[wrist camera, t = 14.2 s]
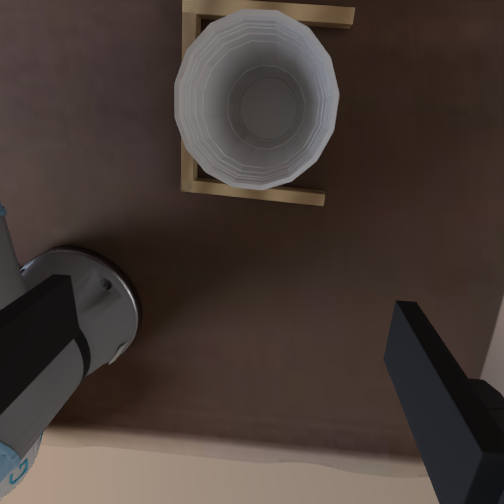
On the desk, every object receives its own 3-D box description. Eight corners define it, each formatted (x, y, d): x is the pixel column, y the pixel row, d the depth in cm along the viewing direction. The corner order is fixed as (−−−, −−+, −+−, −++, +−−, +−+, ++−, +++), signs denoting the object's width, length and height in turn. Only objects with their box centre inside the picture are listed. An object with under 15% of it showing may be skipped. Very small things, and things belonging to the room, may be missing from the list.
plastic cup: (224, 27, 32) (186, -19, 21) (341, 62, 32) (367, 34, 20) (199, 149, 36) (156, 165, 25) (302, 180, 36) (306, 210, 25)
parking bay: (185, 187, 37) (180, 191, 36) (188, 2, 31) (182, -5, 30) (322, 202, 36) (323, 206, 35) (351, 13, 30) (355, 7, 29)
